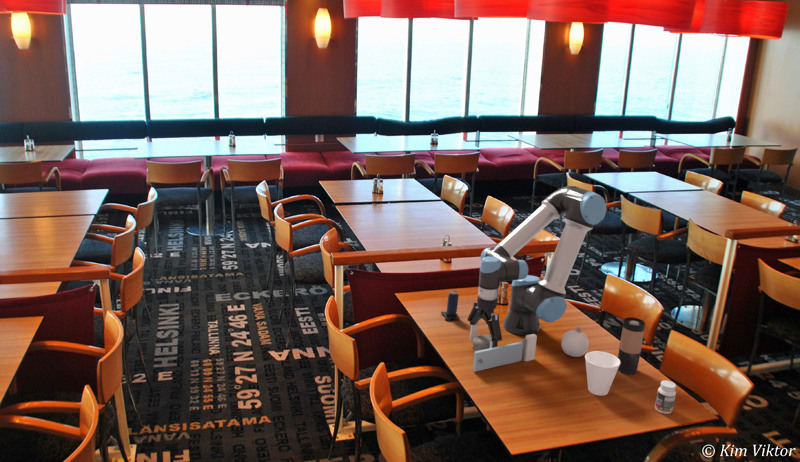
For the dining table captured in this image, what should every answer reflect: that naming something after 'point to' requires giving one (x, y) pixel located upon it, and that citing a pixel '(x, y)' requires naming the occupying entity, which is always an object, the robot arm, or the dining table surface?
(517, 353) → the door
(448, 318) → the blue column with base
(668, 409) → the pill bottle
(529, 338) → the tilted pink plank
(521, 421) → the dining table surface
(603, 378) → the cup
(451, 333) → the dining table surface
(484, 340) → the stone
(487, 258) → the robot arm
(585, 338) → the ornament
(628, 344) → the travel mug
